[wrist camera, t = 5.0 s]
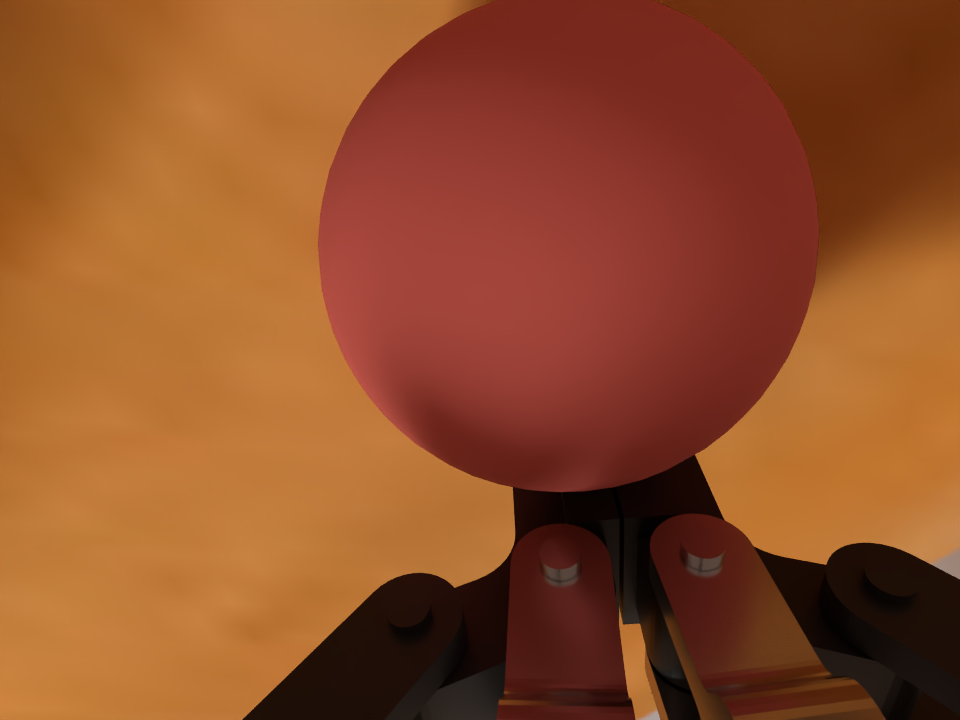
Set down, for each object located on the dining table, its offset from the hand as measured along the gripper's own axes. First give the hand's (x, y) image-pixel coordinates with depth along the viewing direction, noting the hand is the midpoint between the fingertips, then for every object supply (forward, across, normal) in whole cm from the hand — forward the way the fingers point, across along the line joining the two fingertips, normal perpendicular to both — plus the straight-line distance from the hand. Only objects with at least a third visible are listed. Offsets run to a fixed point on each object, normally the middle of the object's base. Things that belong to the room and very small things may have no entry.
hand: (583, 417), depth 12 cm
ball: (-2, 0, -4) cm, 5 cm away
